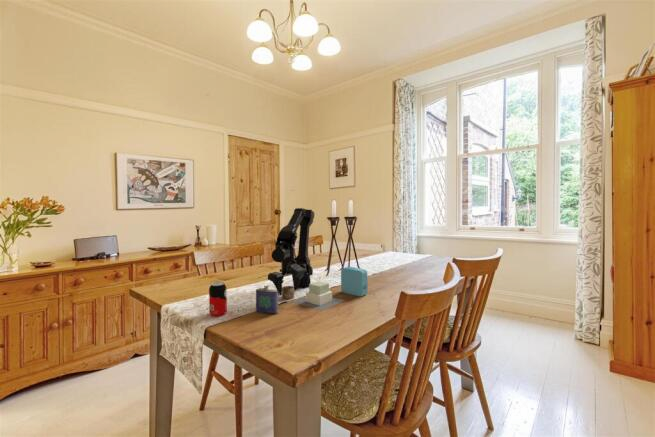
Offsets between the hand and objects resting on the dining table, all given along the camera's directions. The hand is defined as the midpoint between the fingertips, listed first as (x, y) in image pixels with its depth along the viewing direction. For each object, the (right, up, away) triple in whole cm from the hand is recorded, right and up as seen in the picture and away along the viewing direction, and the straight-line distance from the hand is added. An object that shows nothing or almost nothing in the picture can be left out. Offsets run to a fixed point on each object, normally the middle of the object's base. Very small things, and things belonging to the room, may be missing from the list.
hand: (288, 292), depth 136 cm
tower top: (+14, +1, -5) cm, 15 cm away
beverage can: (-25, -4, -19) cm, 31 cm away
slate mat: (+14, -3, -5) cm, 15 cm away
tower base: (+14, -3, -5) cm, 15 cm away
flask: (-6, -4, -17) cm, 18 cm away
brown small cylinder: (0, -3, 0) cm, 3 cm away
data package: (+30, -2, +6) cm, 31 cm away
